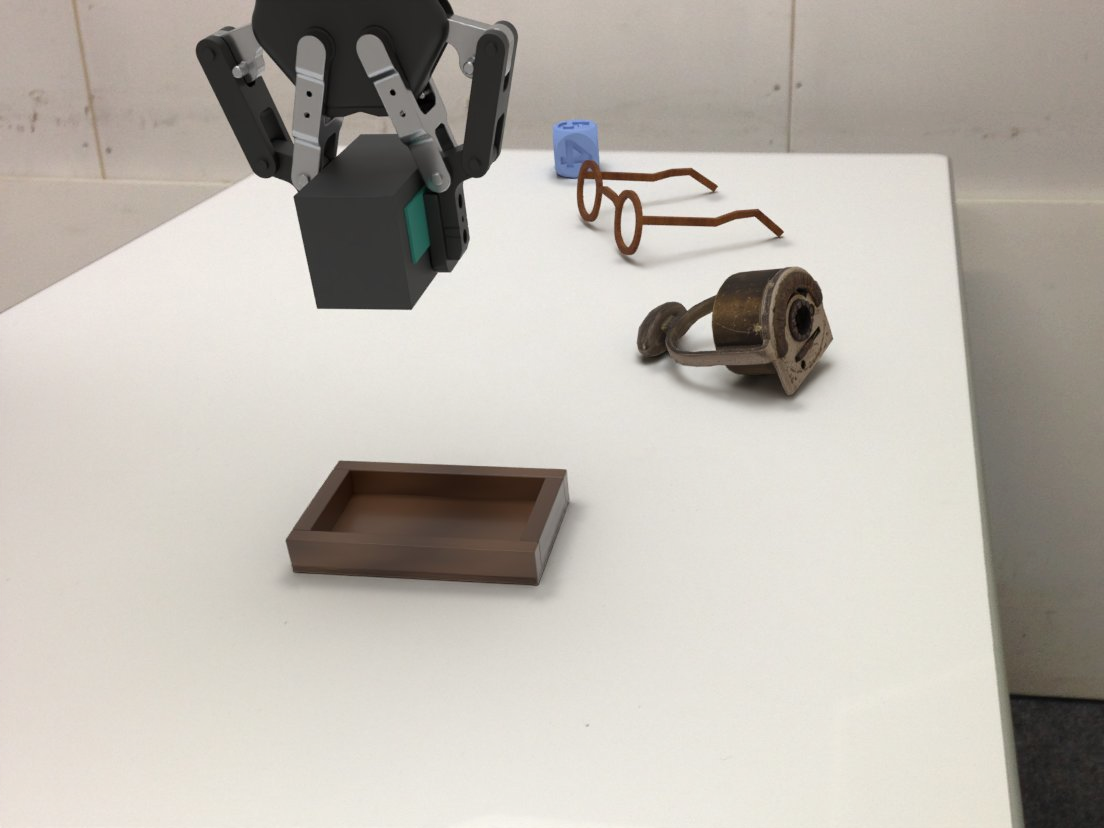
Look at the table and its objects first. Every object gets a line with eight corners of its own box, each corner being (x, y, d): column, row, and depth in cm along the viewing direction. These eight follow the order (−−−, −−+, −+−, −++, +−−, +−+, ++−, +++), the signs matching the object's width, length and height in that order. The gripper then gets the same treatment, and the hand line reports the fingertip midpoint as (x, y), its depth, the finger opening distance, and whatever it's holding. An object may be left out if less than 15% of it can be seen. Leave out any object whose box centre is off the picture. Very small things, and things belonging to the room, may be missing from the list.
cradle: (292, 572, 66) (284, 539, 65) (345, 490, 72) (338, 459, 71) (538, 585, 64) (534, 552, 63) (570, 500, 71) (567, 468, 69)
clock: (415, 310, 56) (396, 196, 53) (316, 309, 57) (292, 196, 54) (466, 237, 63) (452, 133, 60) (378, 237, 64) (360, 133, 61)
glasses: (574, 216, 107) (569, 155, 104) (716, 190, 111) (715, 130, 108) (633, 268, 97) (630, 202, 94) (786, 238, 101) (788, 173, 98)
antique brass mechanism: (731, 344, 73) (861, 264, 76) (602, 261, 81) (724, 192, 84) (744, 440, 78) (865, 362, 81) (622, 354, 86) (736, 285, 89)
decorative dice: (600, 176, 115) (597, 130, 113) (555, 179, 115) (552, 133, 113) (599, 163, 118) (596, 117, 116) (556, 165, 118) (552, 120, 116)
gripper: (104, -143, 48) (218, 296, 58) (476, -160, 46) (526, 299, 56) (189, -165, 54) (279, 237, 64) (522, -181, 51) (560, 238, 62)
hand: (394, 264), depth 60 cm, fingers closed on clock, 4 cm apart
